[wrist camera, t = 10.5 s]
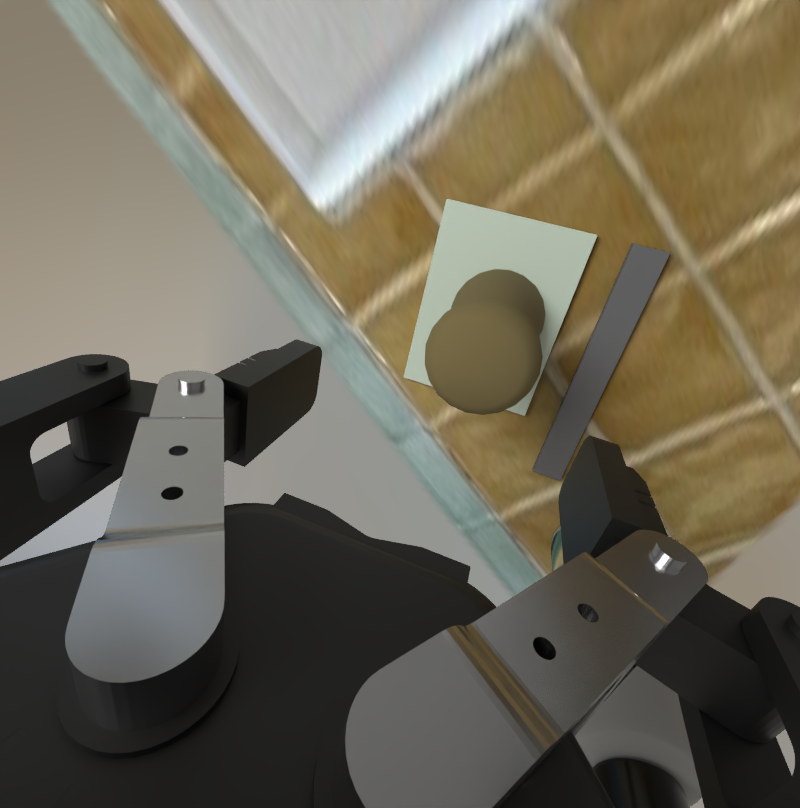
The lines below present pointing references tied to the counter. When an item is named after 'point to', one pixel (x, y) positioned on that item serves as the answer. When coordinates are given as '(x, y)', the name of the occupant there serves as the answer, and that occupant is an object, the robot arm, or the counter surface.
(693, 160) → the counter surface
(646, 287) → the charcoal line
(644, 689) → the lotion bottle
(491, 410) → the cork
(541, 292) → the mat
